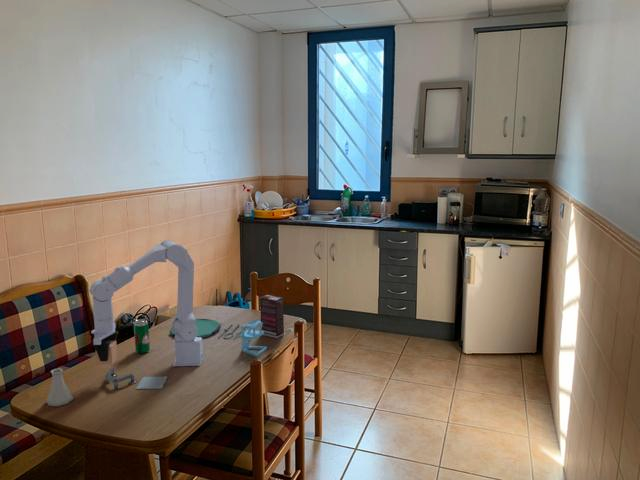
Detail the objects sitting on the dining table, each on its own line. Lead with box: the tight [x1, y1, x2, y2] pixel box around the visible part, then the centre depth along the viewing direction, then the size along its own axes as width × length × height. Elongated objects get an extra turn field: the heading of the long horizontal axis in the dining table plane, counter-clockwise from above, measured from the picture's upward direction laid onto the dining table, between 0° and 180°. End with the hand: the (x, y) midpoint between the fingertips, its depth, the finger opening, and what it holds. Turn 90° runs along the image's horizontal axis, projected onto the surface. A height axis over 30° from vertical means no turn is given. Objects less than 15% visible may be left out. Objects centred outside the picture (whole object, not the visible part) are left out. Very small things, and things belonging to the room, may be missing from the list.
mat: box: [135, 375, 168, 390], centre depth 167 cm, size 8×8×1 cm
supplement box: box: [259, 294, 285, 339], centre depth 207 cm, size 9×5×16 cm, turn 58°
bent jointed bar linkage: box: [104, 367, 138, 390], centre depth 168 cm, size 10×11×3 cm
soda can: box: [133, 318, 151, 355], centre depth 190 cm, size 5×5×12 cm
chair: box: [239, 319, 268, 358], centre depth 191 cm, size 8×8×12 cm
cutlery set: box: [169, 318, 246, 341], centre depth 212 cm, size 20×30×2 cm, turn 79°
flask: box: [46, 367, 74, 408], centre depth 154 cm, size 7×7×10 cm
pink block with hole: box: [94, 340, 118, 366], centre depth 166 cm, size 5×5×6 cm
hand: (107, 357), depth 166 cm, fingers closed on pink block with hole, 5 cm apart
